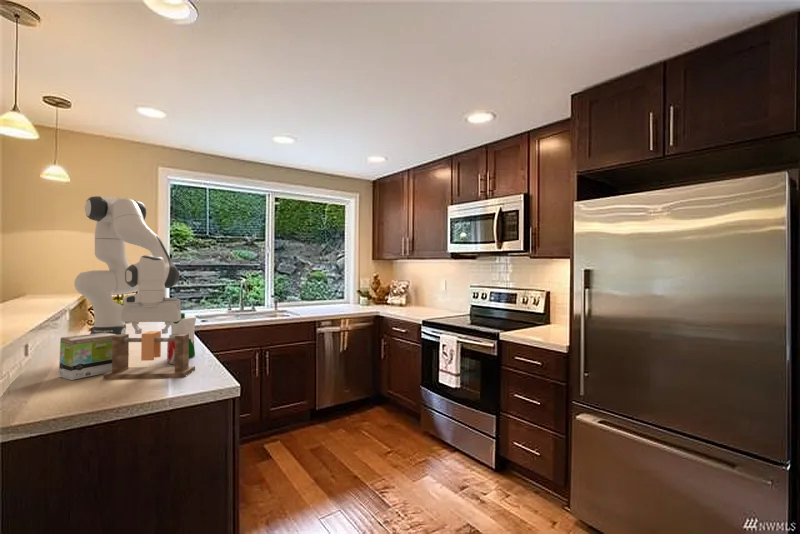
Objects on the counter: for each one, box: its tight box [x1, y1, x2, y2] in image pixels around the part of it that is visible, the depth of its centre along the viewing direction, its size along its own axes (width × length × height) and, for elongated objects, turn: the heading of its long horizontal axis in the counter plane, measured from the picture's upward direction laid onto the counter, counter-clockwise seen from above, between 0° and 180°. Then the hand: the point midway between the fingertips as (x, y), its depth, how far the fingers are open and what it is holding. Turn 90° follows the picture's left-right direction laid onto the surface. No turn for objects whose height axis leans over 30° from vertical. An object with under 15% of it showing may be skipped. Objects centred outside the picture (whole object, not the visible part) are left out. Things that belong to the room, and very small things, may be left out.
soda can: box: [166, 334, 179, 365], centre depth 166 cm, size 7×7×12 cm
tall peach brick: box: [140, 330, 162, 362], centre depth 148 cm, size 4×6×10 cm, turn 7°
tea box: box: [58, 333, 116, 381], centre depth 148 cm, size 15×10×15 cm, turn 153°
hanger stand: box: [102, 333, 196, 380], centre depth 148 cm, size 28×10×15 cm, turn 97°
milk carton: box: [170, 312, 197, 358], centre depth 176 cm, size 9×9×20 cm
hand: (151, 333), depth 148 cm, fingers open, 8 cm apart
